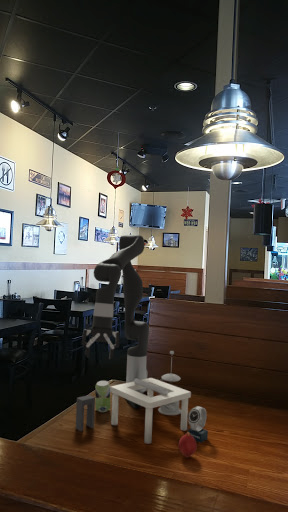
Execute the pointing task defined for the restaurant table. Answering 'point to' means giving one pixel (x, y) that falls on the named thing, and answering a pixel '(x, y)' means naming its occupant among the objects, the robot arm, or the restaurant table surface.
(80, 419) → the grey u-shaped bracket
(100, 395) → the beverage can
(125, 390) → the square frame stand
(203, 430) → the watch
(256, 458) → the restaurant table surface
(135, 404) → the mobile phone
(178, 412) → the french press
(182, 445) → the onion
